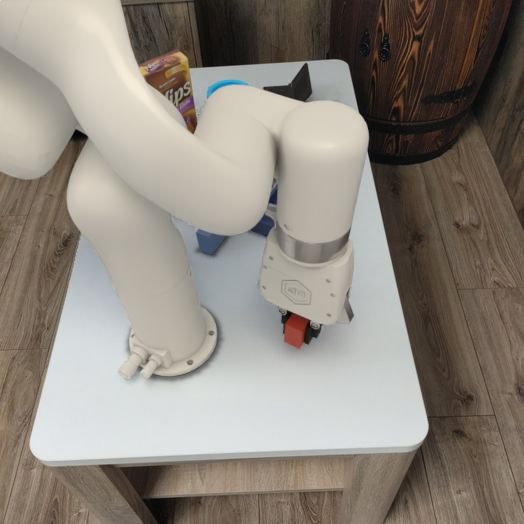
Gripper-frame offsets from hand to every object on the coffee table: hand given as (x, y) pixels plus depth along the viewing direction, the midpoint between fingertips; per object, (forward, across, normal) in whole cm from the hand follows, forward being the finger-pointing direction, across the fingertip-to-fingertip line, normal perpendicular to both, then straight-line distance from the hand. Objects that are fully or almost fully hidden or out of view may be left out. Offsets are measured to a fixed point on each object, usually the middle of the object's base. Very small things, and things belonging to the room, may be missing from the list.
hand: (300, 330), depth 66 cm
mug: (+6, -35, +42) cm, 54 cm away
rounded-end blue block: (+5, -22, +14) cm, 26 cm away
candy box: (+6, -43, +32) cm, 54 cm away
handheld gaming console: (+5, -29, +52) cm, 60 cm away
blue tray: (+5, -13, +24) cm, 27 cm away
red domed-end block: (0, 0, +1) cm, 1 cm away
